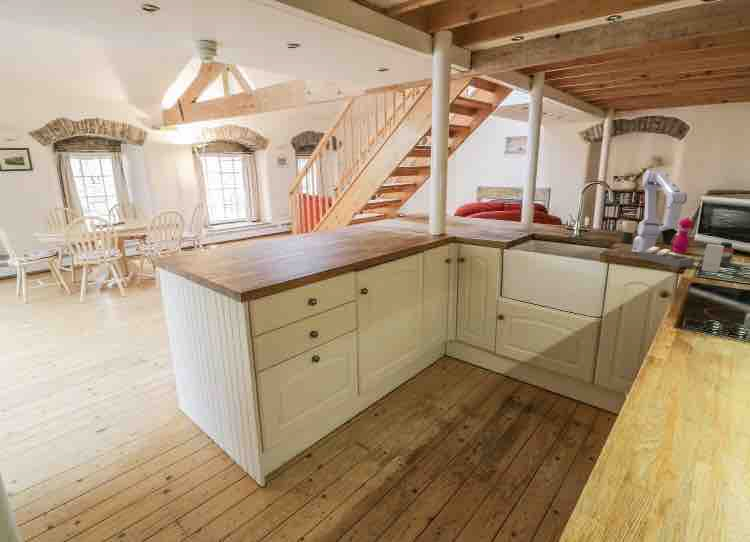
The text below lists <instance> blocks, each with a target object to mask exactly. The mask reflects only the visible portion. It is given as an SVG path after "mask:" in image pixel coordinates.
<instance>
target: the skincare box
mask: <svg viewBox="0 0 750 542" xmlns="http://www.w3.org/2000/svg"><path fill="white" fill-rule="evenodd" d="M723 249H724V246H721V244H720V245H719V244H713V243H711V244H710V243H707V245H706V248H705V252H704V256H703V261H702V262H703V263H702V266H701V271H704V272H710V273H719V271H720V267H721V266H720V262H721V258H722V254H723Z"/></svg>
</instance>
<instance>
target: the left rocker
mask: <svg viewBox="0 0 750 542" xmlns="http://www.w3.org/2000/svg"><path fill="white" fill-rule="evenodd" d="M655 251H660V247H659V246H655V247H654V246H653V247H651V248H649V249H647V250H646V252H648V253H653V252H655Z"/></svg>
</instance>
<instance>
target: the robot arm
mask: <svg viewBox="0 0 750 542" xmlns="http://www.w3.org/2000/svg"><path fill="white" fill-rule="evenodd" d="M669 175H670V174H669V172H668V170H653V169H652V170H649V169H647V170H646V171H645V172H644V173H643V176H642V188H644V219H642V220H641V221H640V222H639V223H638V225H639V227H638V230H637V234H638V235H637V236H635V238H634V241H633V244H632V249H631V252H632V253H636V252H637V254H638V251H646V250H647V249H649V248H651V247H653V246H654V247H656V243H655V242H656V238H658V237H659V236H660V235H661V234H662V235H663V243H662V244H663V245H666V246H667V245H670V244H671V242H672V241H673V238H674V237H675V236H676V235H677V234H679V229H681V225H679V222H680V218H681V213H682V208H683V205H684V204H686V202H687V199H688V195H687V194H688V193H687V192H686V191H681V190H680V189H679V187H678V186H677V184H676V183H673V182H671V181H670V178H669ZM660 188H662V192H663V193H664V195H665V196H666V205H665V206H666V207H667V208H666V212H665V216H664V221H663V224H664V225H662V226H661V224H662V221H660V220H659V219H657V190H658V189H660Z"/></svg>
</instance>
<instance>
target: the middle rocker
mask: <svg viewBox="0 0 750 542" xmlns="http://www.w3.org/2000/svg"><path fill="white" fill-rule="evenodd" d="M658 251H659V252H657V254H658V255H665V254H667V253H669V252H672V251H671V249H667V248H663V249H661V250H658Z"/></svg>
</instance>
